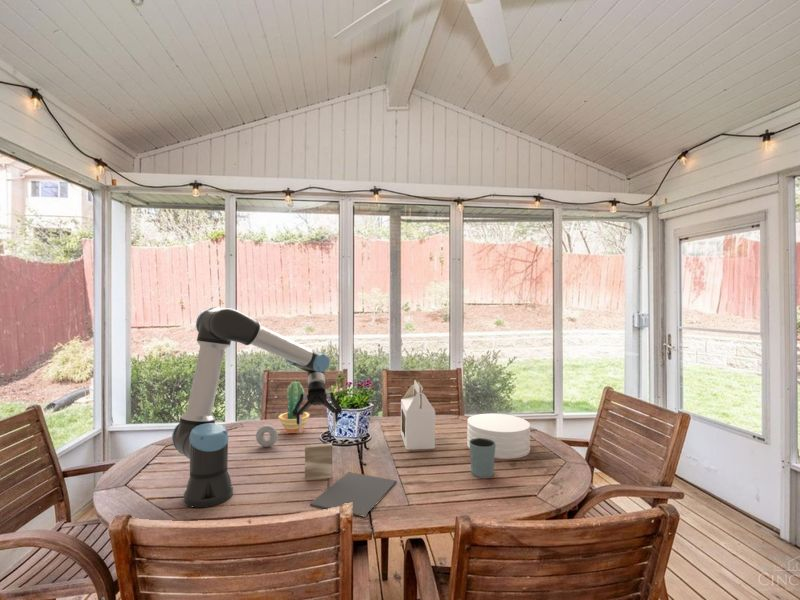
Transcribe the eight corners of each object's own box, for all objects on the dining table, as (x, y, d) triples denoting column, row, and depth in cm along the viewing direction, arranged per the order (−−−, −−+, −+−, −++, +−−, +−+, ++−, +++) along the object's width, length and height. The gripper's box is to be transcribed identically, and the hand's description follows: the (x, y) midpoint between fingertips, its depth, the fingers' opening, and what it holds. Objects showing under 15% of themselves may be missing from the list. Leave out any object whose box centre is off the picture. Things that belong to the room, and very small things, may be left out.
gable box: (435, 449, 181) (435, 387, 181) (406, 450, 179) (406, 387, 179) (426, 433, 203) (426, 377, 203) (400, 433, 202) (400, 378, 202)
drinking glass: (476, 479, 150) (476, 447, 150) (464, 468, 160) (464, 438, 160) (500, 476, 153) (500, 445, 153) (487, 466, 162) (487, 436, 162)
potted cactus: (314, 427, 210) (315, 380, 210) (299, 437, 195) (300, 386, 195) (288, 425, 214) (289, 378, 214) (272, 434, 199) (272, 384, 199)
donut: (279, 445, 184) (279, 423, 184) (276, 448, 181) (276, 426, 181) (257, 445, 184) (257, 423, 184) (254, 448, 181) (254, 426, 181)
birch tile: (304, 476, 152) (305, 445, 152) (331, 474, 154) (331, 443, 154) (304, 480, 149) (305, 447, 149) (332, 477, 151) (332, 445, 151)
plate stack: (456, 440, 192) (456, 416, 193) (505, 434, 202) (505, 411, 202) (489, 462, 166) (489, 435, 166) (543, 454, 176) (543, 427, 176)
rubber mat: (365, 517, 123) (365, 515, 123) (309, 505, 131) (309, 503, 131) (396, 482, 148) (396, 480, 148) (348, 473, 155) (348, 471, 155)
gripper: (344, 388, 182) (347, 432, 167) (287, 391, 176) (285, 436, 162) (345, 379, 177) (349, 423, 162) (287, 381, 171) (285, 427, 156)
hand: (317, 430), depth 162 cm, fingers open, 13 cm apart
